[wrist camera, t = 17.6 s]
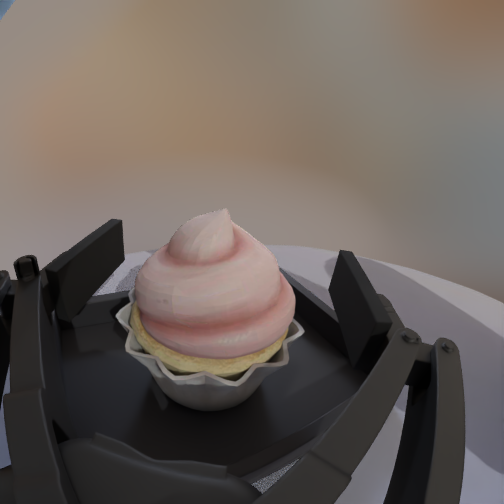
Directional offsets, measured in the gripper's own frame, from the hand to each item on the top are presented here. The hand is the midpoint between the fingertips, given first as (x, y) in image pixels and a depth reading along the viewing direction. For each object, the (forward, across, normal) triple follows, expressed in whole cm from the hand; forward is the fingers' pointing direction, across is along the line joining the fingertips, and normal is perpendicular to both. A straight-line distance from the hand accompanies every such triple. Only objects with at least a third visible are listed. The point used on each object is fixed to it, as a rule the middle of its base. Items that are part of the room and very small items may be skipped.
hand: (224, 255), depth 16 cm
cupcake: (-3, 0, -6) cm, 7 cm away
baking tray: (-3, 0, -7) cm, 8 cm away
